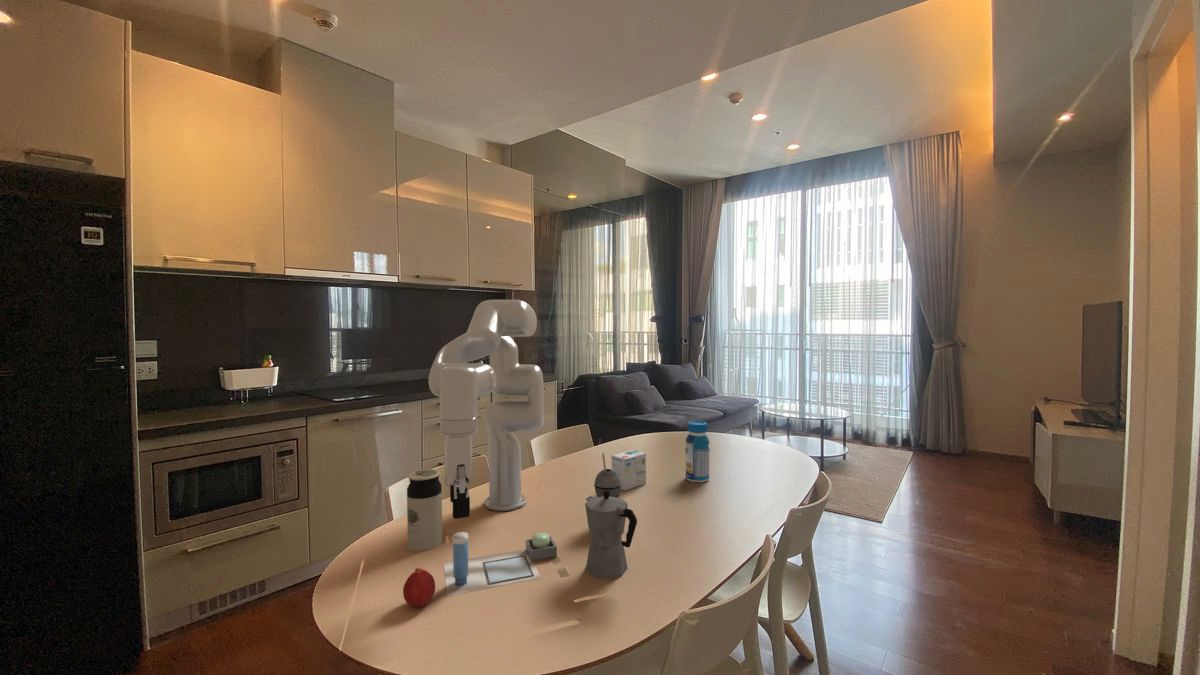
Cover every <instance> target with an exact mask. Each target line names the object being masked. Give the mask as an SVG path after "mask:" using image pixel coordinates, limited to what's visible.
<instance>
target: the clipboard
mask: <svg viewBox="0 0 1200 675" xmlns="http://www.w3.org/2000/svg"><path fill="white" fill-rule="evenodd" d="M550 560H551V562H552V564H553V566H554V568H555V569H556V571H557V574H558V575H559V577H560V578H563V577H569V576H570V573H569V572H568V570H567V569H566V567H565V565H564V564H563V562H562V560H561V558H560V557H559V555H558V554H557V558H552V559H550ZM443 564H444V565H443V566H444V580H445V592H446V597H450V596H455V595H459V594H466V593H470V592H471V593H472V592H478V591H482V590H487V589H493V588H497V587H501V586H506V585H507V586H508V585H513V584H517V583H523V582H529V581H533V580H537V579H538V580H539V579H541V578H542V577H541V575H540V573H539V571H538V569H537V567H536V565H535V561H534V562H531V561H530V558H529V556H528V554H527V552H526V548H525V549H519V550H512V551H508V552H507V551H506V552H502V553H496V554H489V555H484V556H478V557H472V558H468V576H467V583H466V584H465V585H463V586H456V585H455V578H454V577H453V561H447V562H444V563H443Z"/></svg>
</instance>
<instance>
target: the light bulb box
mask: <svg viewBox="0 0 1200 675" xmlns="http://www.w3.org/2000/svg"><path fill="white" fill-rule="evenodd" d="M646 454H647V453H646V452H644V451H639V450H634V449H630V450H627V451H624V452H620V453H617V454H611V470H613V471H615V472H616V473H617V474H618V476H619V478H620V483H621V486H620V491H625V492H626V491H629V490H631V489H634V488H637V487H640V486H643V485H646V484H647V461H646V460H647V455H646Z"/></svg>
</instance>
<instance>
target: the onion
mask: <svg viewBox="0 0 1200 675" xmlns="http://www.w3.org/2000/svg"><path fill="white" fill-rule="evenodd" d="M435 592H436V582H435V579H434V577H433V575H432V574H431V573H430V572H429V571H427V570H425V569H423V568H422V567H420V566H418V567H416V568H415V569H414V572H412V573H411V574H410V575H408V577H407V579H406V580H405V582H404V585H403V588H402V593H403V594H402V596H403V599H404V601H405V602H406V603H407V604H408V605H410V606H411V607H414V608H416V609H417V608H423V607H424V606H425V605H427V604H428V603H429V602H430V601H431V600H432V598H434V597H433V596H434V594H435Z"/></svg>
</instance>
